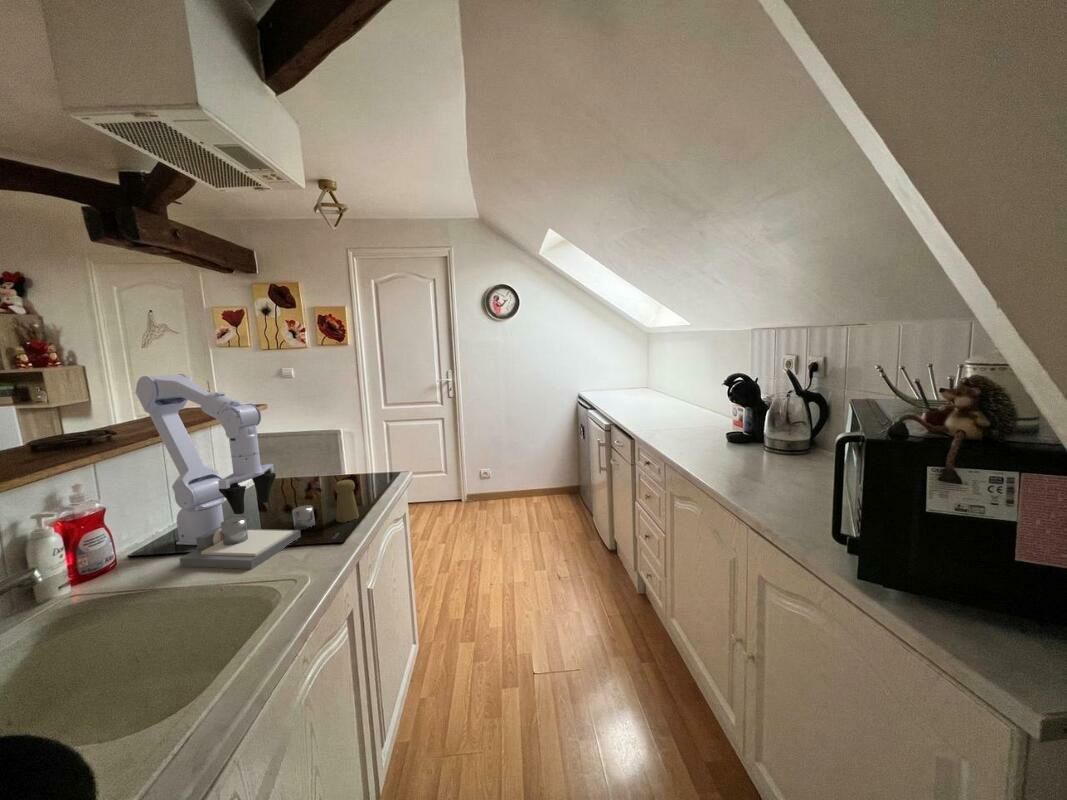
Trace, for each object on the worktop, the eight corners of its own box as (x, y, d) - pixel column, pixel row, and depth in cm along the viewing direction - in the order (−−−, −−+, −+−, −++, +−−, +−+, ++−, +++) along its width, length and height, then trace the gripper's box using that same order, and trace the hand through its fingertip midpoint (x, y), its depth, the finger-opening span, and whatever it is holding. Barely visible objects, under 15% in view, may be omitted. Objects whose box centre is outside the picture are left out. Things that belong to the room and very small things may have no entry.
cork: (363, 514, 124) (359, 477, 123) (352, 522, 118) (348, 484, 117) (343, 514, 125) (340, 477, 123) (331, 522, 119) (328, 484, 117)
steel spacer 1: (217, 544, 101) (215, 524, 100) (236, 535, 105) (233, 516, 105) (235, 545, 100) (233, 525, 99) (253, 536, 104) (250, 517, 104)
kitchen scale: (180, 566, 96) (177, 543, 95) (238, 535, 112) (236, 515, 111) (251, 569, 93) (248, 545, 93) (301, 537, 109) (298, 516, 109)
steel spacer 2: (290, 530, 114) (288, 512, 114) (301, 522, 119) (299, 505, 119) (308, 529, 114) (306, 512, 113) (318, 521, 119) (316, 504, 118)
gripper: (234, 461, 96) (241, 519, 97) (281, 447, 110) (287, 497, 112) (207, 461, 97) (215, 518, 99) (257, 447, 111) (263, 497, 113)
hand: (251, 507), depth 105 cm, fingers open, 7 cm apart
